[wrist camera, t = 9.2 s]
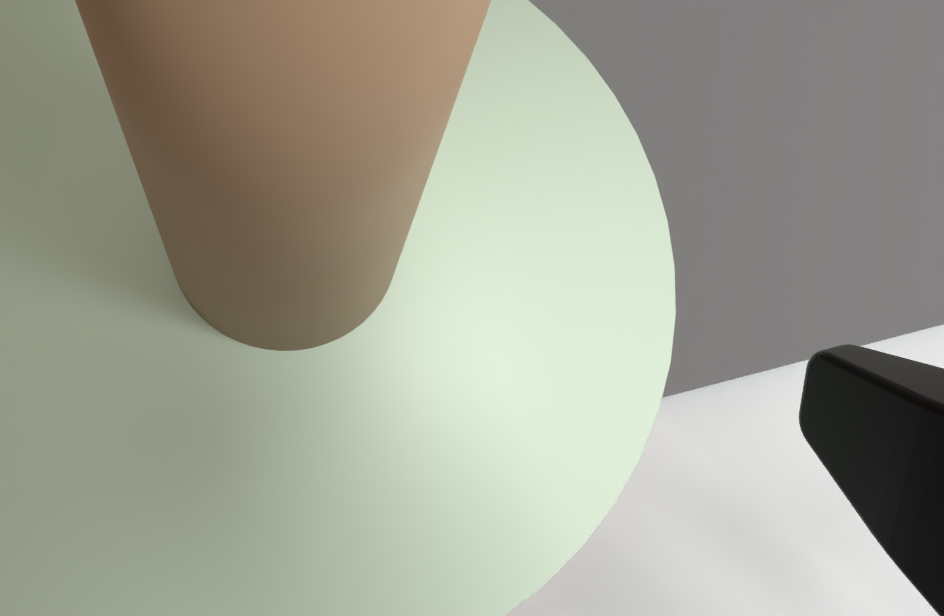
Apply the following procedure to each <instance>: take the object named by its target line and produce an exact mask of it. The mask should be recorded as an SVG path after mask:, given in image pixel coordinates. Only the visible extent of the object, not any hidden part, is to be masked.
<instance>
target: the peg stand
mask: <svg viewBox="0 0 944 616" xmlns="http://www.w3.org/2000/svg"><path fill="white" fill-rule="evenodd" d="M675 317H676V303H675V266H674V260H673V253H672V247H671V240H670V234H669V227H668V221H667V217H666V214H665V210H664V207H663V203H662V200H661V196H660V193H659V189H658V186H657V182H656V179H655V176H654V173H653V171H652V169H651V166H650V164H649V161H648V159H647V157H646V154H645V152H644V150H643V147H642V145H641V143H640V140H639V138H638V135H637V133H636V132H635V130H634V128H633V126H632V125H631V123H630V121H629V119H628V118H627V116H626V114H625V112H624V111H623V109H622V107H621V105H620V104H619V102H618V100H617V98H616V97H615V95H614V94H613V92H612V91H611V89H610V88H609V87H608V85H607V84H606V83H605V81H604V80H603V79H602V77H601V76H600V75H599V73H598V72H597V70H596V69H595V68H594V66H593V65H592V64H591V62H590V61H589V60H588V58H587V57H586V56H585V55H584V54H583V53H582V52H581V51H580V50H579V48H578V47H577V46H576V45H575V44H574V43H573V42H572V41H571V40H570V39H569V38H568V37H567V36H566V34H565V33H564V32H563V31H562V30H561V29H560V28H559V27H558V26H557V25H556V24H555V23H554V22H553V21H552V20H550V19H549V18H548V17H547V16H546V15H545V14H544V13H542V12H541V11H540V10H539V9H538V8H537V7H535V6H534V5H533V4H532V3H531V2H530V1H529V0H0V616H505V615H506V614H507V613H508V612H510V611H511V610H512V609H514V608H515V607H516V606H518V605H519V604H520V603H522V602H523V601H524V600H525V599H527V598H528V597H529V596H531V595H532V594H533V593H535V592H536V591H537V590H538V589H540V588H541V587H542V586H544V585H545V584H546V583H547V582H548V581H549V580H550V578H551V577H552V576H553V575H554V574H555V573H556V572H557V571H558V570H559V569H560V568H561V567H562V566H563V565H564V564H565V563H566V562H567V561H568V560H569V559H570V558H571V557H572V556H573V555H574V554H575V553H576V552H577V551H578V550H579V549H580V548H581V547H582V546H583V545H584V544H585V542H586V541H587V540H588V538H589V537H590V536H591V534H592V533H593V532H594V530H595V529H596V528H597V526H598V525H599V524H600V522H601V521H602V520H603V518H604V517H605V516H606V514H607V513H608V512H609V510H610V509H611V508H612V506H613V505H614V504H615V502H616V500H617V499H618V497H619V495H620V493H621V491H622V490H623V488H624V486H625V484H626V482H627V481H628V479H629V477H630V475H631V473H632V472H633V470H634V468H635V466H636V464H637V463H638V461H639V459H640V457H641V455H642V452H643V450H644V447H645V445H646V442H647V439H648V437H649V434H650V432H651V429H652V427H653V424H654V422H655V419H656V416H657V414H658V411H659V408H660V404H661V400H662V396H663V392H664V387H665V383H666V379H667V375H668V371H669V367H670V363H671V354H672V345H673V336H674V326H675Z"/></svg>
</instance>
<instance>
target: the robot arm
mask: <svg viewBox="0 0 944 616" xmlns="http://www.w3.org/2000/svg"><path fill="white" fill-rule="evenodd" d="M799 424H800V427H801V431H802V433H803V435H804V437H805V439H806V441H807V442H808V444H809V445H810V446H811V448H812V449H813V451H814V452H815V453H816V455H817V456H818V458H819V459H820V461H821V462H822V463H823V465H824V466H825V468H826V469H827V470H828V472H829V473H830V475H831V476H832V478H833V479H834V480H835V482H836V483H837V485H838V486H839V487H840V489H841V490H842V492H843V493H844V495H845V496H846V497H847V499H848V500H849V502H850V503H851V504H852V506H853V507H854V509H855V510H856V512H857V513H858V514H859V516H860V517H861V519H862V520H863V521H864V523H865V524H866V526H867V527H868V529H869V530H870V531H871V533H872V534H873V536H874V537H875V538H876V540H877V541H878V542H879V544H880V545H881V546H882V548H883V549H884V550H885V552H886V553H887V554H888V555H889V557H890V558H891V559H892V560H893V562H894V563H895V564H896V565H897V566H898V568H899V569H900V570H901V571H902V573H903V574H904V575H905V576H906V577H907V578H908V580H909V581H910V582H911V583H912V584H913V585H914V587H915V588H916V589H917V590H918V591H919V592H920V594H921V595H922V596H923V597H924V598H925V599H926V601H927V602H928V603H929V604H930V605H931V606H932V608H933V609H934V610H935V611H936V612H937V613H938V615H939V616H944V369H943V368H940V367H936V366H932V365H928V364H924V363H921V362H917V361H913V360H909V359H905V358H902V357H898V356H894V355H890V354H886V353H883V352H879V351H875V350H871V349H868V348H864V347H860V346H856V345H851V344H846V345H840V346H836V347H832V348H829V349H825V350H821V351H818V352H816V353H815V354H813V355H812V356H811V358H810V360H809V361H808V364H807V368H806V374H805V380H804V386H803V392H802V398H801V404H800V411H799Z"/></svg>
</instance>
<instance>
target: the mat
mask: <svg viewBox="0 0 944 616" xmlns="http://www.w3.org/2000/svg"><path fill="white" fill-rule="evenodd" d="M529 1H530V2H531V3H532V4H533V5H534V6H535V7H537V8H538V9H539V10H540V11H541V12H542V13H544V14H545V15H546V16H547V17H548V18H549V19H550V20H552V21H553V22H554V23H555V24H556V25H557V26H558V27H559V28H560V29H561V30H562V31H563V32H564V33H565V34H566V36H567V37H568V38H569V39H570V40H571V41H572V42H573V43H574V44H575V45H576V46H577V47H578V48H579V50H580V51H581V52H582V53H583V54H584V55H585V56H586V57H587V58H588V60H589V61H590V62H591V64H592V65H593V66H594V68H595V69H596V70H597V72H598V73H599V75H600V76H601V77H602V79H603V80H604V81H605V83H606V84H607V85H608V87H609V88H610V89H611V91H612V92H613V94H614V95H615V97H616V98H617V100H618V102H619V104H620V105H621V107H622V109H623V111H624V112H625V114H626V116H627V118H628V119H629V121H630V123H631V125H632V126H633V128H634V130H635V132H636V133H637V135H638V138H639V140H640V143H641V145H642V147H643V150H644V152H645V154H646V157H647V159H648V161H649V164H650V166H651V169H652V171H653V173H654V176H655V179H656V182H657V186H658V189H659V193H660V196H661V200H662V203H663V207H664V210H665V214H666V217H667V221H668V227H669V234H670V240H671V247H672V253H673V260H674V266H675V303H676V317H675V326H674V336H673V345H672V354H671V363H670V367H669V371H668V375H667V379H666V383H665V387H664V392H663V396H662V397H666V396H670V395H674V394H678V393H681V392H685V391H689V390H693V389H697V388H701V387H704V386H708V385H712V384H716V383H720V382H724V381H727V380H731V379H735V378H739V377H743V376H747V375H750V374H754V373H758V372H762V371H766V370H770V369H773V368H777V367H781V366H785V365H789V364H793V363H796V362H800V361H804V360H808V359H810V358H811V356H812V355H813V354H815V353H816V352H818V351H821V350H825V349H829V348H832V347H836V346H840V345H846V344H851V345H856V346H862V345H865V344H869V343H873V342H877V341H881V340H885V339H888V338H892V337H896V336H900V335H904V334H908V333H911V332H915V331H919V330H923V329H927V328H931V327H934V326H938V325H942V324H944V0H529Z"/></svg>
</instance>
